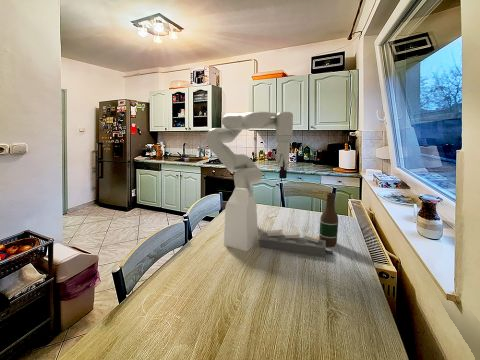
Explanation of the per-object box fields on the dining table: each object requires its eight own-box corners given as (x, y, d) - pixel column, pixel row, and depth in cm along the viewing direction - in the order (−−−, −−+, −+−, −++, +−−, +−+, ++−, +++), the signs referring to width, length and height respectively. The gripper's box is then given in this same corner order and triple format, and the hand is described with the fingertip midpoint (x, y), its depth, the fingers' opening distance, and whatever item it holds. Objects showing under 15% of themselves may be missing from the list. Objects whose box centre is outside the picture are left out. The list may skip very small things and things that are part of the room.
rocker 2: (303, 238, 109) (304, 235, 108) (304, 235, 112) (305, 232, 111) (317, 242, 107) (318, 239, 106) (318, 239, 110) (319, 236, 109)
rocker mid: (285, 238, 111) (285, 235, 111) (286, 235, 114) (286, 232, 114) (299, 237, 109) (298, 234, 109) (300, 234, 112) (299, 231, 112)
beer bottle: (338, 248, 111) (341, 195, 107) (319, 246, 113) (322, 194, 108) (335, 241, 119) (338, 191, 114) (318, 239, 120) (320, 190, 116)
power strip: (258, 247, 112) (259, 238, 111) (263, 240, 120) (263, 232, 119) (332, 258, 102) (333, 249, 101) (332, 250, 109) (333, 241, 109)
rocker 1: (267, 236, 114) (267, 233, 114) (269, 233, 117) (268, 230, 117) (280, 235, 112) (280, 231, 112) (282, 232, 115) (281, 229, 115)
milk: (223, 245, 115) (222, 189, 110) (235, 236, 125) (235, 185, 120) (247, 250, 109) (247, 192, 104) (258, 241, 119) (258, 187, 114)
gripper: (279, 139, 125) (278, 175, 129) (272, 139, 111) (271, 180, 115) (294, 139, 123) (292, 176, 126) (289, 139, 109) (288, 181, 112)
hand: (282, 178), depth 120 cm, fingers closed
